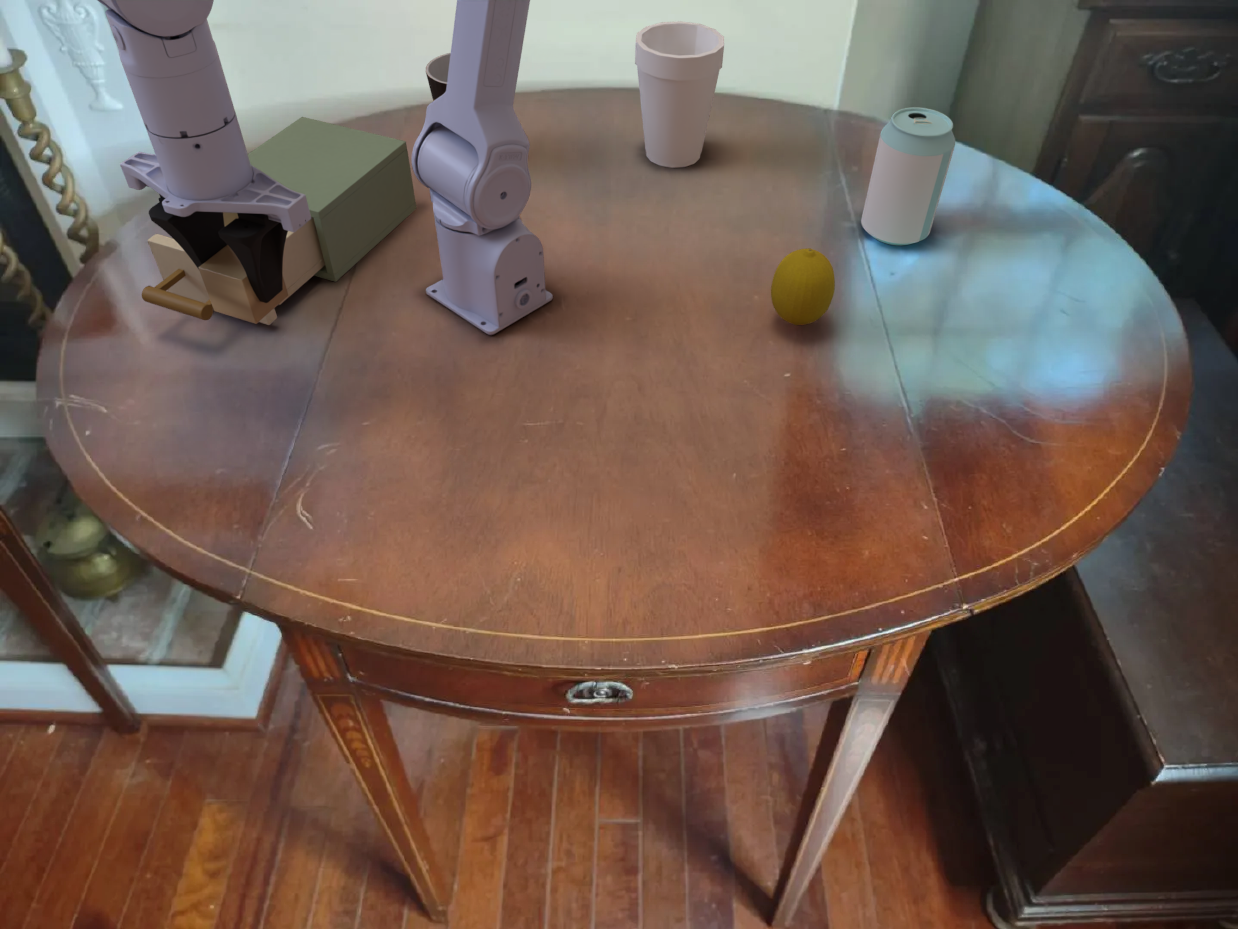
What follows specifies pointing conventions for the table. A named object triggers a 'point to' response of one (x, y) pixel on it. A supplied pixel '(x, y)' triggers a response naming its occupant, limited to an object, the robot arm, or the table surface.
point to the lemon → (803, 286)
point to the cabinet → (342, 185)
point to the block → (234, 288)
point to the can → (908, 176)
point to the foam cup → (677, 88)
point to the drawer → (188, 284)
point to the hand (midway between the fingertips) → (246, 287)
